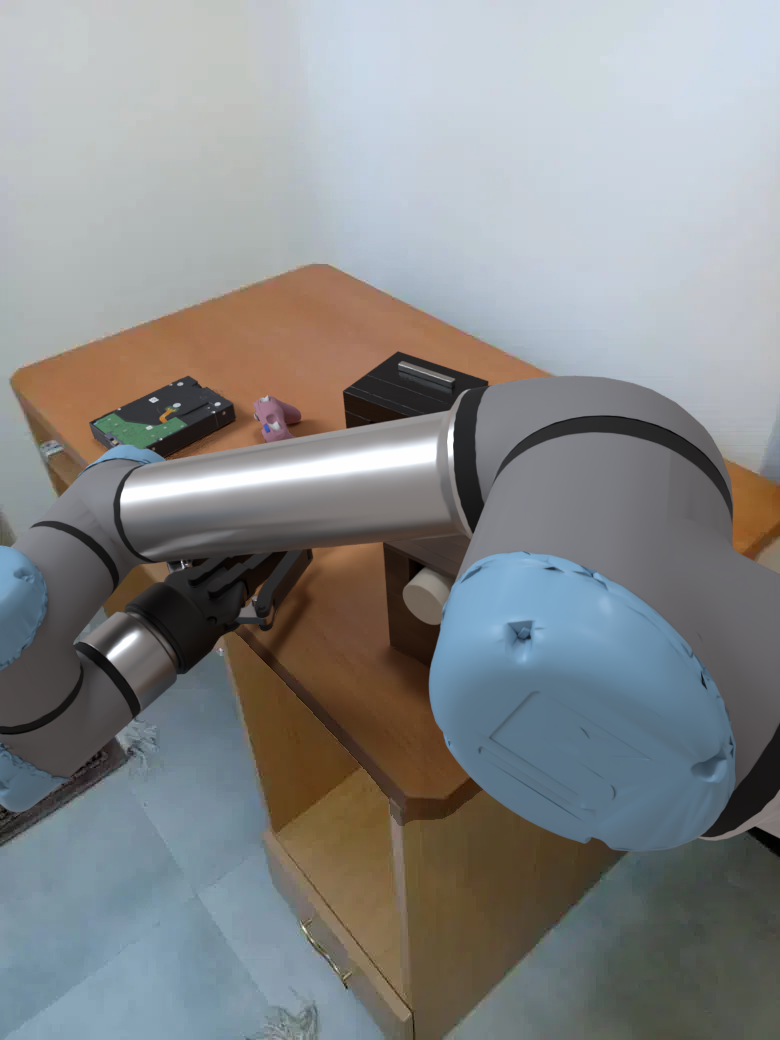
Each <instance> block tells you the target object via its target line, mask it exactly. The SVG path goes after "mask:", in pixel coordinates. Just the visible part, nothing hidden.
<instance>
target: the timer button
mask: <svg viewBox="0 0 780 1040" xmlns="http://www.w3.org/2000/svg"><path fill="white" fill-rule="evenodd" d="M454 583H455V580H454V579H452V578H450V577H448V576H446V575H444V574H441V573H439V572H437V571H435V570H433V569H431V568H429V567H427V566H426V567H424V568H423V569H422V570H421V571H420V572H419V573H418V574H417V575H416V576H415V577H414V578H413V579H412V580H411V581H410V582H409V583H408V584H407V585H406V586H405V588H404V590H403V599H404V602H405V604H406V606H407V607H408V609H409V610H410V611H411V612H412V613H413V614H414V615H415V616H416V617H417V618H418V619H420V620H421V621H423V622H425V623H428V624H431V625H438V624H440V623H441V621H442V610H443V607H444V604H445V603H446V602H447V600H448V598H449V595H450V592H451V589H452V586H453V585H454Z"/></svg>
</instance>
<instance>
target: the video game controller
mask: <svg viewBox="0 0 780 1040" xmlns="http://www.w3.org/2000/svg"><path fill="white" fill-rule="evenodd" d="M252 407H253V409H254V411H255V412H254V413H253V416H254V420H255V421H256V422H258V423H260V424H261V426H262V429H261V434H262V436H263V439H264V440H265V441H266V442H265V443H269V442H275V441H281V440H286V439H292V438H297V437H296V436H294V435H293V434H292V433H290V432H289V429H288V426H287V425H288V424H289V425H290V424H297V423H300V421H301V420H302V413H301V411H300V410H299V409H298V408H297V407H296V406H294V405H292V404H289V403H286V402H284V401H281V400H280V399H278V398H277V397H274V396H273V395H269V394H267V395H266V396H264V397H260V398H259V399H257V400H256V401H254V402H252Z"/></svg>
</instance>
